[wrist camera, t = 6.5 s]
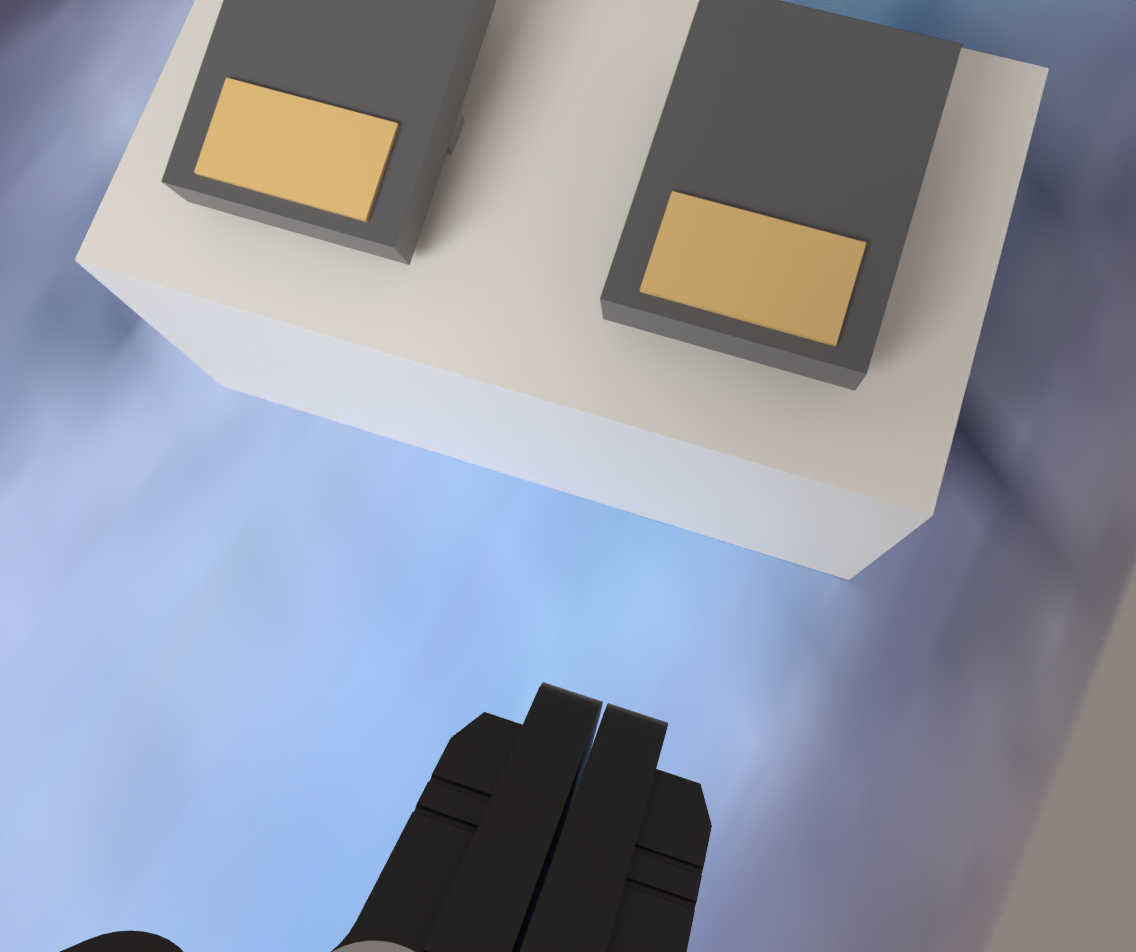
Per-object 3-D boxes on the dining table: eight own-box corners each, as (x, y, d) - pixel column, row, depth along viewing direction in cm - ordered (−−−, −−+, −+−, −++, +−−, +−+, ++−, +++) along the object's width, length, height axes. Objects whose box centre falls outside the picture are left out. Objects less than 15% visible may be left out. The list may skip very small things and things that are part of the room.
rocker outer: (603, 318, 25) (599, 296, 24) (702, 19, 26) (704, -22, 25) (854, 390, 24) (868, 372, 23) (946, 77, 25) (964, 40, 24)
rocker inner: (188, 201, 27) (157, 179, 25) (288, -92, 27) (264, -132, 26) (409, 265, 26) (392, 245, 25) (509, -39, 27) (498, -77, 25)
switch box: (222, 386, 37) (60, 248, 27) (346, 90, 40) (242, -142, 29) (849, 579, 34) (940, 509, 24) (940, 246, 37) (1059, 50, 26)
